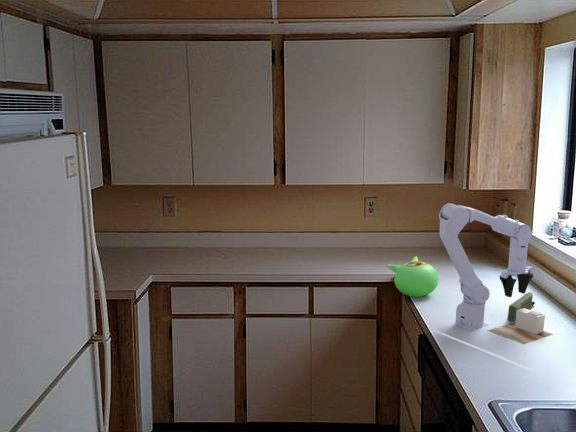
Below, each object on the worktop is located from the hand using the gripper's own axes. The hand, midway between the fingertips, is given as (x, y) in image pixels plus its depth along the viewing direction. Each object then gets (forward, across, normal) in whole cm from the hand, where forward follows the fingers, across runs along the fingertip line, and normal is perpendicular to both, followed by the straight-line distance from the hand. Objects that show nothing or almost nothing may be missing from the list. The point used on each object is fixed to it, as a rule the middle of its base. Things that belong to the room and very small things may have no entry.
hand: (515, 294), depth 209 cm
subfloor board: (+10, -7, -8) cm, 15 cm away
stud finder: (+10, -2, -8) cm, 13 cm away
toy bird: (+10, -6, +42) cm, 43 cm away
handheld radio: (+11, +11, +4) cm, 16 cm away
